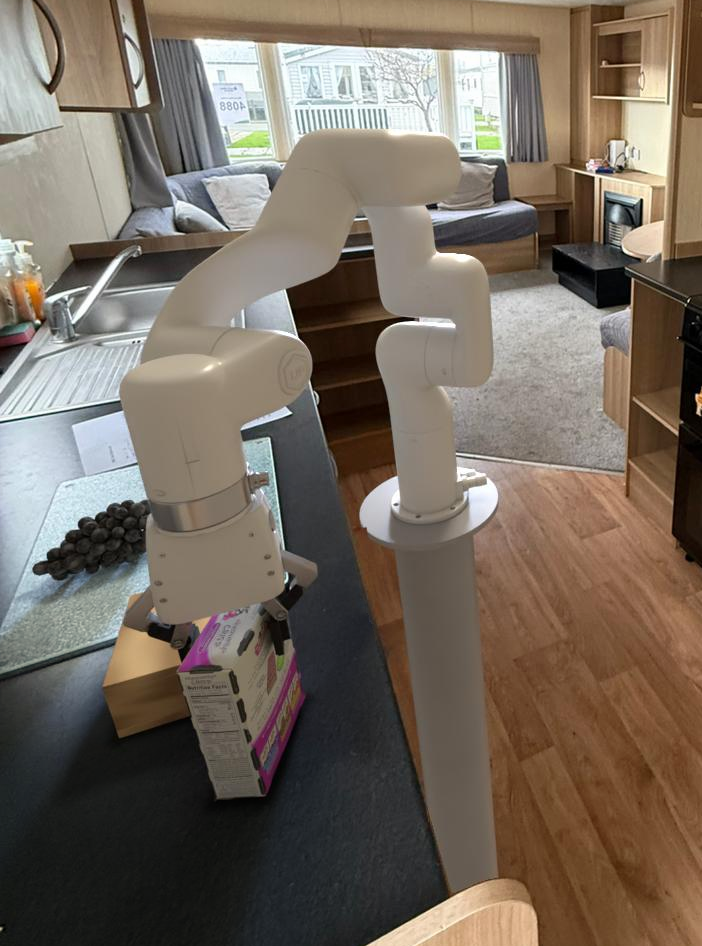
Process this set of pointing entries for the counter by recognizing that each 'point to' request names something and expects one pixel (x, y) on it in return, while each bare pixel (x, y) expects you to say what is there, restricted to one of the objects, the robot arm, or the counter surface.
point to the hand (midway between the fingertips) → (240, 655)
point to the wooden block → (144, 680)
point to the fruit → (99, 542)
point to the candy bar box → (241, 700)
